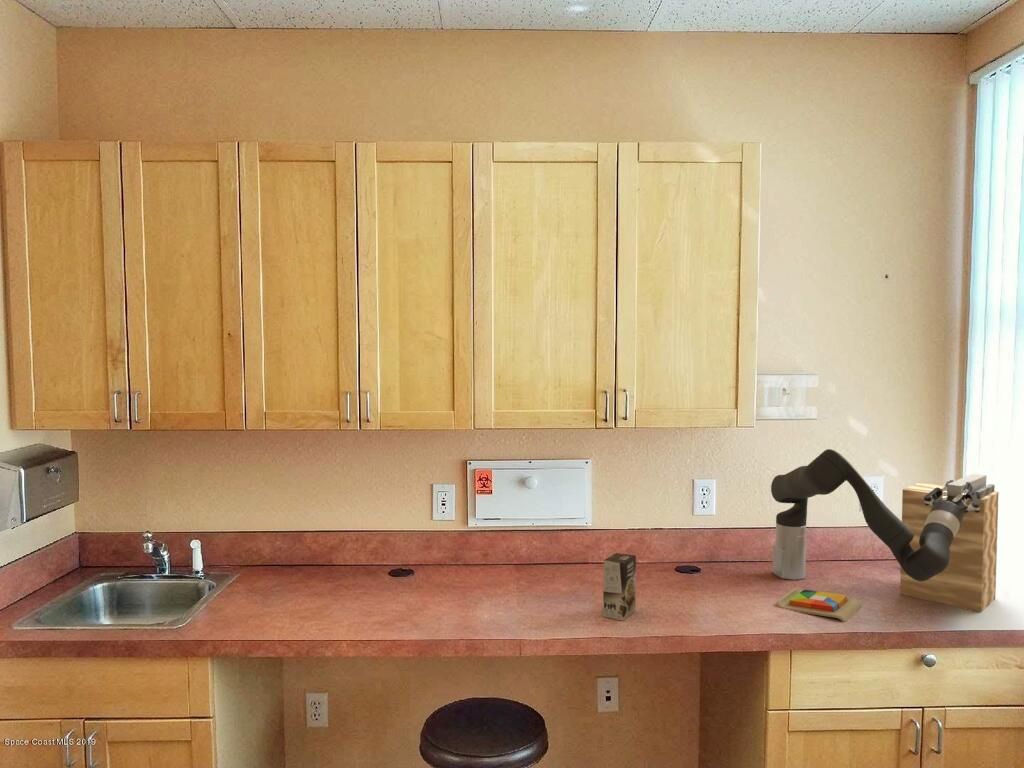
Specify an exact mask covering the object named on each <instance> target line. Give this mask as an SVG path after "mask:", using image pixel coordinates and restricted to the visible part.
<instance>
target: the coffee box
mask: <svg viewBox="0 0 1024 768" xmlns="http://www.w3.org/2000/svg"><path fill="white" fill-rule="evenodd" d="M636 570H637V555H634V554H628V553H627V554H626V553H619V552H615V553H613V554H612V555H610V556H609V557H606V558H605V559H603V583H602V584H603V585H602V586H603V589H602V590H603V591H602V592H603V599H602V600H603V602H602V603H603V606H602V608H603V609H602V610H603V612H602V616H603V617H605V618H609V619H613V620H618V621H622V622H623V621H625V620H626V619H627V618H629V617H630V616H631V615H633V614H634V613H635V612H636V605H637V603H636V602H637V601H636V598H637V597H636V596H637V595H636V593H637V592H636V591H637V588H636V583H637V581H636V580H637V575H636V573H637V571H636Z"/></svg>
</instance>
